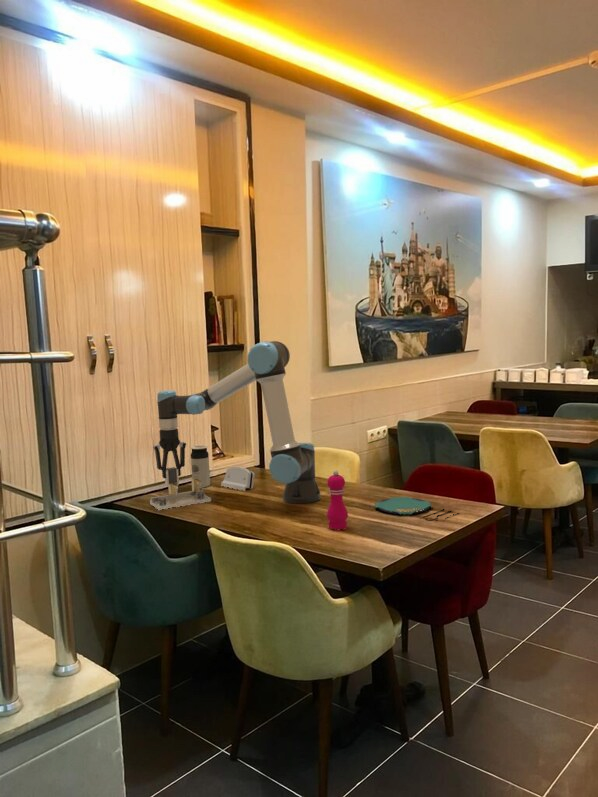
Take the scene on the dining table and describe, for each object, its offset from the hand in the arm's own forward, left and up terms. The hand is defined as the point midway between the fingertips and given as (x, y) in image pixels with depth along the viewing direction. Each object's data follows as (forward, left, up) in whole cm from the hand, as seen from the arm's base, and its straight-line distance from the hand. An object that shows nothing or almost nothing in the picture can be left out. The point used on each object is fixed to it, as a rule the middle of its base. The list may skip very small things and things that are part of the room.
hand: (172, 484), depth 263 cm
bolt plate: (-4, -2, -7) cm, 8 cm away
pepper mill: (-70, -37, -7) cm, 79 cm away
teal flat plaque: (-69, -70, -8) cm, 99 cm away
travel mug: (+20, -19, -7) cm, 28 cm away
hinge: (+7, -32, -7) cm, 34 cm away
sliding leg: (-2, 0, -4) cm, 5 cm away
